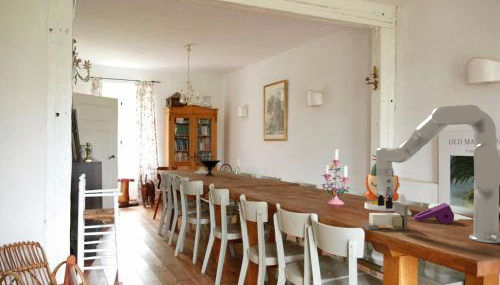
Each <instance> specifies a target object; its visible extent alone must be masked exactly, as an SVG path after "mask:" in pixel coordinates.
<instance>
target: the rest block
mask: <svg viewBox="0 0 500 285" xmlns="http://www.w3.org/2000/svg"><path fill="white" fill-rule="evenodd" d="M361 226H362V227H363V228H364V229H366V230H367V231H368V230H369V231H371V230H372V231H373V230H374V231H375V230H376V231H378V230H379V225H372V224H370V223H369V221H364V222H362V225H361Z"/></svg>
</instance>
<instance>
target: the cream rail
mask: <svg viewBox="0 0 500 285" xmlns="http://www.w3.org/2000/svg"><path fill="white" fill-rule="evenodd" d="M368 215H369V216H368V222H369V223H370V224H372V225H378V226H385V225H392V217H401V215H400V214H397V213H394V212H369V214H368Z"/></svg>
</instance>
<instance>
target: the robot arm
mask: <svg viewBox="0 0 500 285" xmlns="http://www.w3.org/2000/svg"><path fill="white" fill-rule="evenodd" d="M455 125H467V126H471V128H472V129H473V140H474V142H473V143H474V146H473V147H474V151H473V174H474V176H473V218H472V219H473V221H472V223H473V226H472V227H473V229H472V232H473V234H469V236H468V238H469V239H470V240H472V241H476V242H479V243H480V242H481V243H489V244H500V231H499V217H500V214H499V213H500V212H499V211H500V210H499V206H500V151H499V149H498V141H497V139H498V138H497V128H496V124H495V122H494V119H493V118H492V117H491V115H489V114H488V113H487V112H485V111H483V110H482V109H481V108H480V107H479V106H477V105H475V104H462V105H461V104H459V105H458V104H457V105H445V106H443V105H442V106H438V107H436V108H434V109H433V111H432V112H431V114H430V115H428V117H427V118H426V119H425V120H424V121H423V122H422V123H420V124H418V126H417V127H416V128H415V129H414V130H413V132H412V134H411V135H410V136H409V138H407V140H405V142H404V143H402V144H401V145H400V146H399V147H398V146H397V147H391V148H390V147H377V148H376V150H375V156H376V157H375V159H376V160H375V162H376V176H377V195H378V196H377V198H378V199H377V200H378V206H384V200H385V199H384V198H383V197H384V196H385V197H386V209H392V208H393V203H394V201H393V195H394V187H393V178H392V168H393V163H396V164H397V163H399V164H400V163H401V164H402V163H405V162H407V161H409V160H410V159H411V158H412V157H413V156H414V155H416V154H417V153H418V152H419V151H420V150H421V149H422V148H423V147H425V145H427V144H428V143H429V142H430V141H431V140H432V139H434V138H435V137H436V136H437V135H438V134H439V133H440V132H442V131H443V130H444V129H445V128H446V127H448V126H455ZM387 196H388V197H387Z"/></svg>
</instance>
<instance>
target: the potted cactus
mask: <svg viewBox="0 0 500 285" xmlns="http://www.w3.org/2000/svg"><path fill="white" fill-rule="evenodd" d="M372 157H374V158H371V160H373V161H374V162H375V163H373V165H372V167H371V170H370V171H369V172H370V173H369V174H367V175H366V178H365V181H364V182H363V185H364V187H366V189H367V191H366V192H365V198H366V199H367V200H368V201H365V202H364V209H367V210H372V211H378V212H379V211H380V212H381V211H382V212H394V211H395V202H397V201H399V195H400V194H399V193H398V192H397V191H399V190H398V189H399V188H400V187H401V186H400V185H401V184H400V182H399V176H398V175H395V171H394V167H392V178H393V187H394V195H393V201H392V202H393V208H392V209H386V197H385V196H384V197H383V198H384V206H378V198H377V196H378V195H377V176H376V155H373V154H372ZM387 197H388V196H387ZM372 200H374V201H372Z"/></svg>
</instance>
